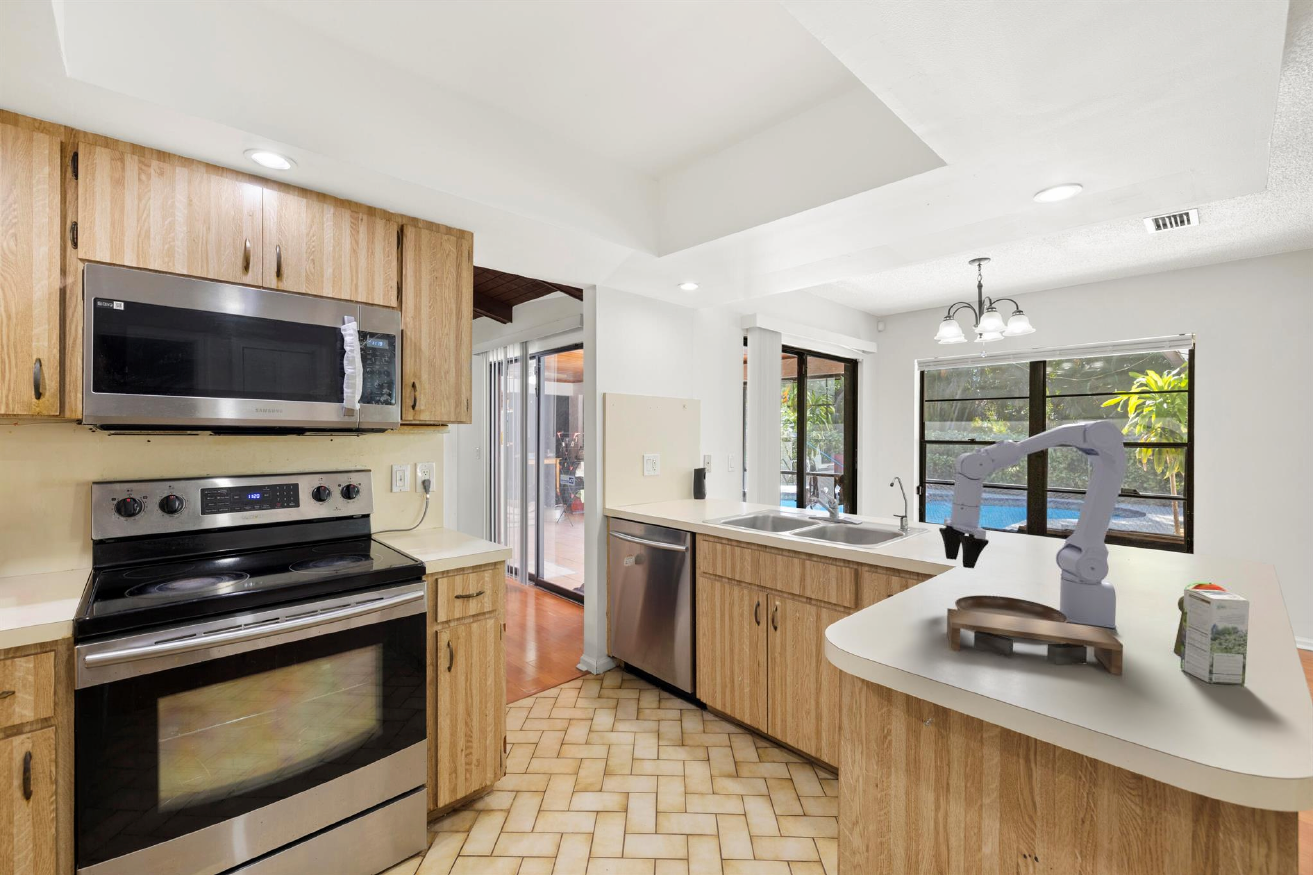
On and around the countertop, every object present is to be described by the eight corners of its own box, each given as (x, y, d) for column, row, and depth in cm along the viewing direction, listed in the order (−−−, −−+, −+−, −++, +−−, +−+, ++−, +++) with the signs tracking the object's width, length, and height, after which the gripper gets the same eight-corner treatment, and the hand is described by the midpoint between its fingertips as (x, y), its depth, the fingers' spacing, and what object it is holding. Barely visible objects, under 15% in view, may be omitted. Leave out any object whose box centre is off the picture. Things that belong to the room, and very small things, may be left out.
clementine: (1187, 613, 129) (1187, 583, 129) (1178, 605, 135) (1179, 576, 135) (1235, 620, 125) (1236, 588, 125) (1224, 611, 131) (1225, 581, 131)
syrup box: (1215, 671, 98) (1217, 588, 97) (1247, 686, 92) (1250, 598, 92) (1179, 669, 98) (1182, 587, 98) (1209, 684, 92) (1212, 597, 92)
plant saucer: (968, 635, 114) (969, 619, 114) (945, 604, 134) (945, 591, 134) (1086, 647, 109) (1087, 630, 108) (1043, 613, 128) (1044, 599, 128)
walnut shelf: (1103, 655, 104) (1104, 627, 104) (1122, 675, 95) (1122, 644, 95) (946, 633, 114) (947, 608, 114) (951, 649, 106) (951, 622, 106)
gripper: (933, 498, 136) (927, 553, 136) (965, 508, 121) (958, 569, 122) (962, 501, 136) (956, 556, 136) (998, 511, 121) (991, 573, 122)
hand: (959, 563), depth 129 cm, fingers open, 7 cm apart
